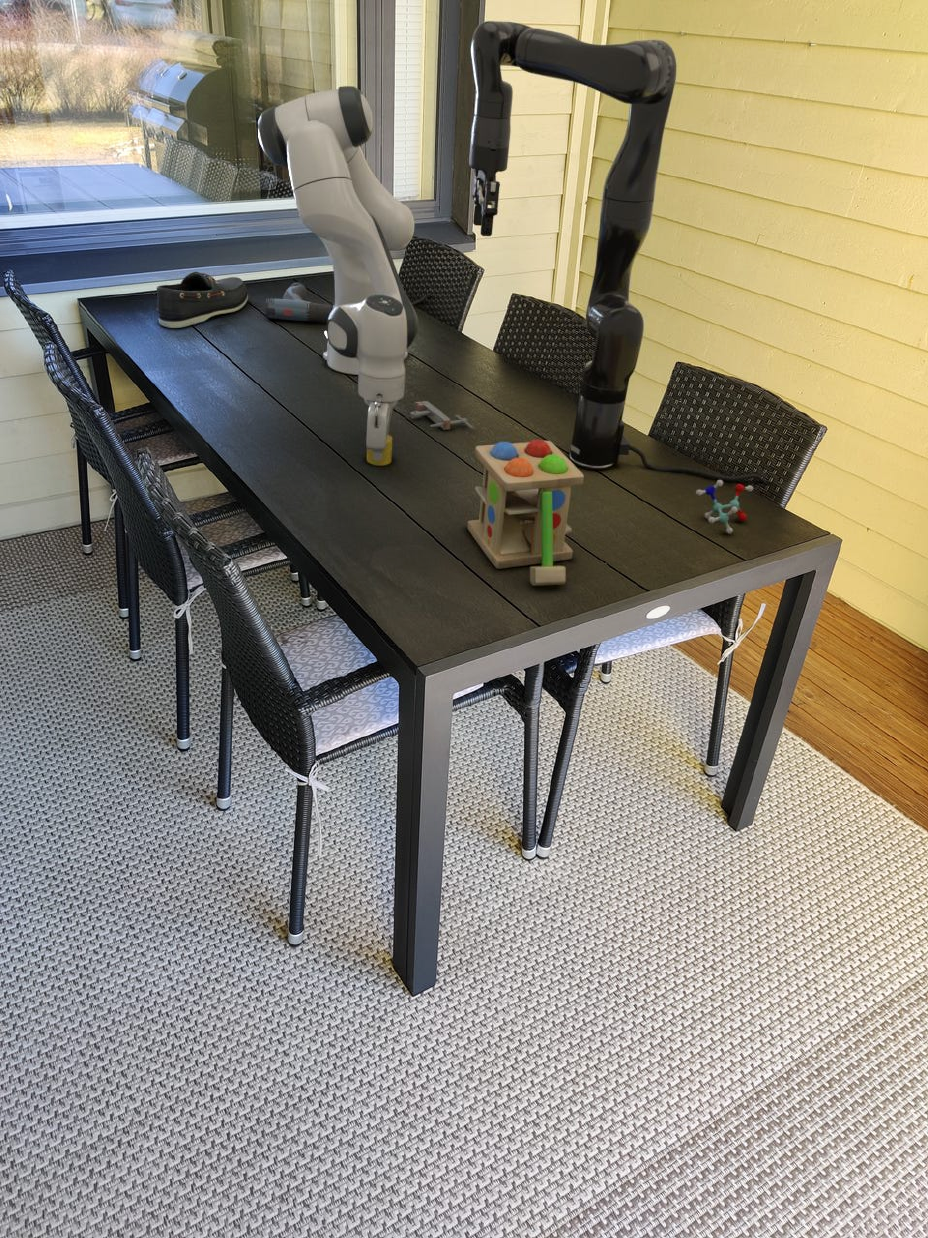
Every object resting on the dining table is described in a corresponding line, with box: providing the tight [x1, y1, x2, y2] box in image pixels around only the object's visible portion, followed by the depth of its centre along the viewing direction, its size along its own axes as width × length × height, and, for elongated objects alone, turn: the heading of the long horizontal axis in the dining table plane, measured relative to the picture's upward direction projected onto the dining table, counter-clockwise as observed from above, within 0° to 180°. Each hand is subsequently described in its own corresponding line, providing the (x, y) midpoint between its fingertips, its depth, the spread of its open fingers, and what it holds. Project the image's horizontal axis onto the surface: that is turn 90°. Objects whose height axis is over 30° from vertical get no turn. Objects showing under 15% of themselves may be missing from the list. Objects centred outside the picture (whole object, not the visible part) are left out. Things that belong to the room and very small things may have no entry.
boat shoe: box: [155, 271, 249, 329], centre depth 258 cm, size 13×33×10 cm, turn 147°
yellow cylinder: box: [366, 434, 393, 466], centre depth 194 cm, size 5×5×5 cm
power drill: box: [264, 282, 333, 322], centre depth 265 cm, size 5×19×20 cm
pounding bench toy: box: [466, 439, 585, 587], centre depth 163 cm, size 23×14×18 cm, turn 20°
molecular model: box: [695, 479, 754, 535], centre depth 183 cm, size 12×10×10 cm
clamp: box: [409, 400, 476, 432], centre depth 212 cm, size 15×2×10 cm
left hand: (378, 452), depth 194 cm, fingers closed on yellow cylinder, 5 cm apart
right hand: (482, 230), depth 198 cm, fingers open, 8 cm apart
